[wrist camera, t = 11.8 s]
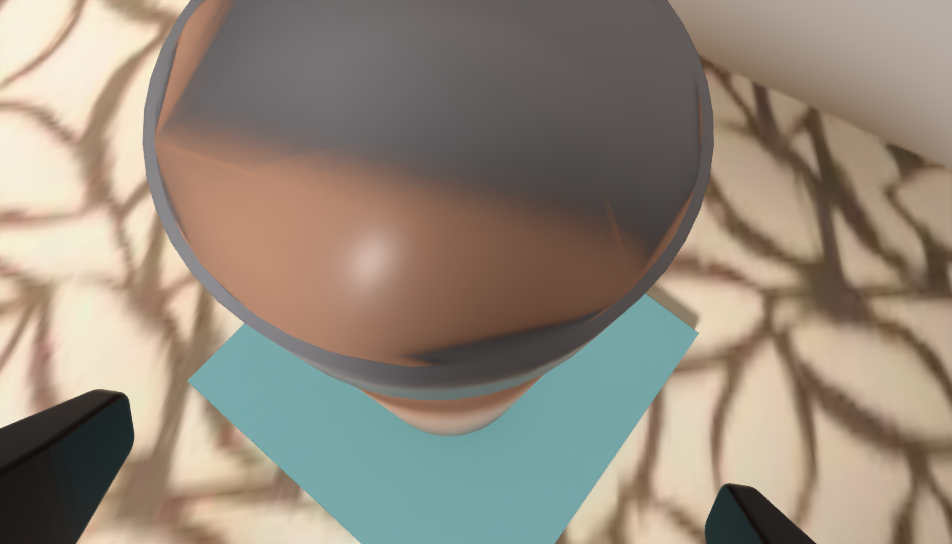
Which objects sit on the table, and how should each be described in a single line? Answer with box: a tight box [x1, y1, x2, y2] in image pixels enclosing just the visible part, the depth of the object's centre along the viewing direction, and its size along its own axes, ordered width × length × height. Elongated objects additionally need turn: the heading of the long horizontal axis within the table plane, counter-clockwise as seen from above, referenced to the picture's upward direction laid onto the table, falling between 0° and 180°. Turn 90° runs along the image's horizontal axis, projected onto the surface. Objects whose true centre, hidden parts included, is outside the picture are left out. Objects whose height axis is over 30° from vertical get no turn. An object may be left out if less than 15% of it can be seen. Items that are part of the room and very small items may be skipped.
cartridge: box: [143, 0, 714, 436], centre depth 12 cm, size 5×5×14 cm
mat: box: [188, 294, 699, 544], centre depth 19 cm, size 12×12×1 cm
